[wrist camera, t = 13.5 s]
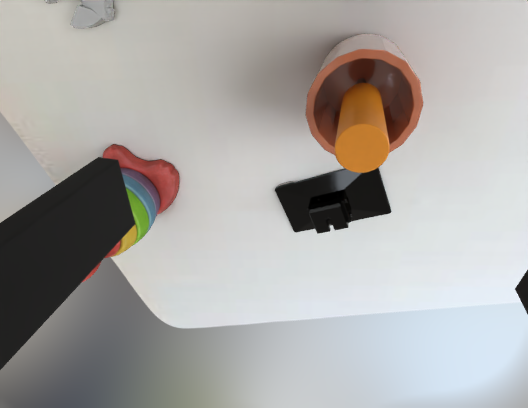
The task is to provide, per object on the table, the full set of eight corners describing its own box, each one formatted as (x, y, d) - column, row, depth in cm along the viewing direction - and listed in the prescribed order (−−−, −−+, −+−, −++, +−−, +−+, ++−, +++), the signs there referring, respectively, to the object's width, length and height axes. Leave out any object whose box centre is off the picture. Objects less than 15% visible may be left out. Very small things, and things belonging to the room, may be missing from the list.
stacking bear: (181, 165, 42) (89, 256, 28) (176, 223, 48) (97, 322, 34) (106, 139, 43) (-22, 215, 29) (110, 199, 49) (6, 287, 35)
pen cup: (324, 31, 30) (311, 45, 23) (417, 36, 29) (438, 53, 21) (314, 117, 35) (301, 154, 27) (395, 125, 33) (405, 166, 26)
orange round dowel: (348, 65, 31) (338, 121, 18) (381, 67, 30) (395, 127, 17) (343, 97, 32) (331, 169, 20) (374, 100, 32) (383, 176, 19)
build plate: (295, 230, 44) (288, 253, 40) (274, 185, 41) (265, 205, 37) (391, 211, 39) (394, 235, 35) (375, 157, 36) (376, 177, 32)
